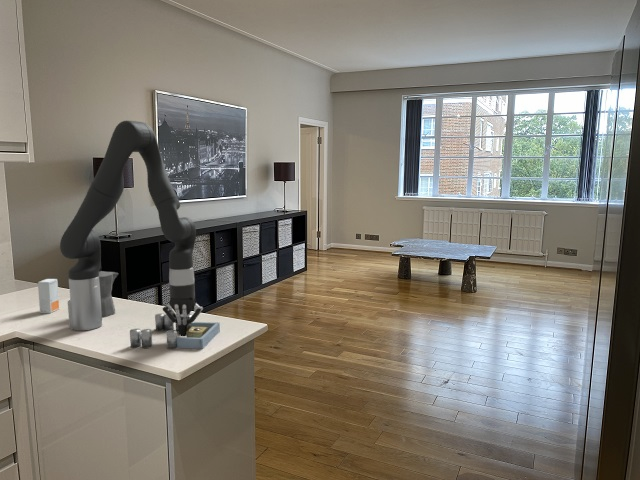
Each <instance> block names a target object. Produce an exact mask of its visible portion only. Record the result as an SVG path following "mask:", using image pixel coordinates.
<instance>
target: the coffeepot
mask: <svg viewBox="0 0 640 480" xmlns="http://www.w3.org/2000/svg"><path fill="white" fill-rule="evenodd" d="M102 267H103V266H101V267H100V270H99V282H100V297H101V312H102V318H104V317H105V318H106V317H111V316H113V315H115V314H116V308H115V304H114V300H113V296H112V291H113V284H114V281H115V279H116V278H117V277H118V275H119V273H118V272H115V271H104V270H103V271H102Z"/></svg>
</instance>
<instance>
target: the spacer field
mask: <svg viewBox="0 0 640 480" xmlns="http://www.w3.org/2000/svg"><path fill="white" fill-rule="evenodd" d="M192 315H193V314H191V313H190V318H191V317H192ZM154 318H155V331H156V332H157V331H159V332H160V331H165V332H166V348H167V349H168V350H175V349H177V337H178V332H179V327H178V324H177V323H173V322H172V321H171V320H170V318H169V317H168V316H167V315H166V313H156V314H154ZM193 322H195V320H194V321H193ZM174 324H175V325H174ZM174 326H175V328H174ZM190 328H191V323H189V329H190ZM152 333H153V331H152V329H151V328H144V329H140V328H132V329H130V330H129V340H130V348H132V349H136V348H140V347H141V348H142V349H150V348H152V347H153V334H152Z"/></svg>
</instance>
